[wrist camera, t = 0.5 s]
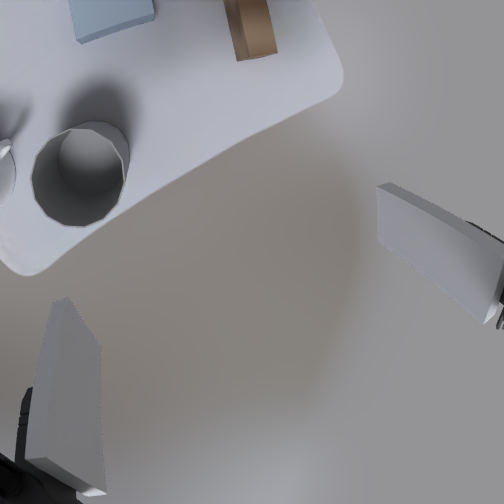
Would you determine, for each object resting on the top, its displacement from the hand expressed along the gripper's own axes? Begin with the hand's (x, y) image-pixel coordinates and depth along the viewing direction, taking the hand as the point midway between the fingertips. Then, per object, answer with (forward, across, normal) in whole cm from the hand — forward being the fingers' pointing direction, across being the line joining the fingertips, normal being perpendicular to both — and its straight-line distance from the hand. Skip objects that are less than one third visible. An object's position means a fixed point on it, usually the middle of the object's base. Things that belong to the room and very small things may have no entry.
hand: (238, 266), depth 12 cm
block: (+26, -2, +20) cm, 33 cm away
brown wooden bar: (+26, +11, +20) cm, 35 cm away
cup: (+26, -9, +2) cm, 27 cm away
